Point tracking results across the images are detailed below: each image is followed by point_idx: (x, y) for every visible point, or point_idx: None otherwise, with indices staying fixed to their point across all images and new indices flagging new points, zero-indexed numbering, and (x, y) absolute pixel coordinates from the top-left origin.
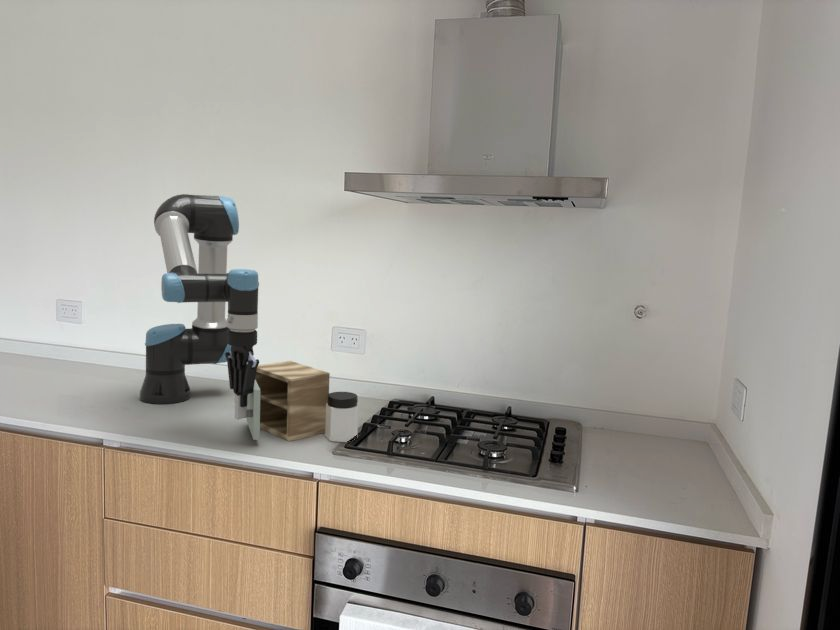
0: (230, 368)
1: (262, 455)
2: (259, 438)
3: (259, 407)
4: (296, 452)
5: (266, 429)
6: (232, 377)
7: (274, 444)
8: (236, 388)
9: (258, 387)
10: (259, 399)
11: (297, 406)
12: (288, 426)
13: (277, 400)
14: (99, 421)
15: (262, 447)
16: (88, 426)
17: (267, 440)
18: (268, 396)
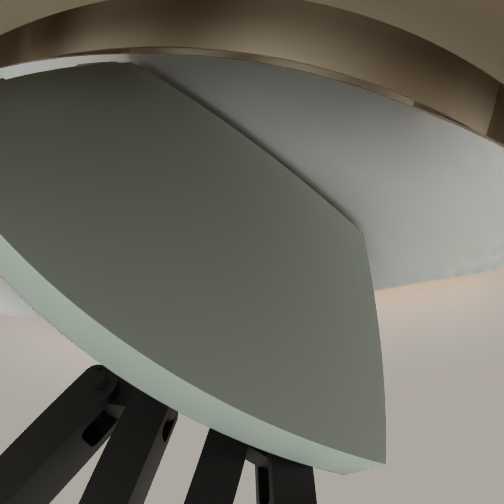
0: (49, 499)
1: (420, 282)
2: (362, 234)
3: (376, 347)
4: (500, 206)
5: (241, 59)
6: (83, 459)
7: (399, 176)
8: (169, 434)
9: (320, 448)
10: (380, 398)
11: None
12: (444, 119)
13: (278, 11)
14: (8, 286)
15: (380, 227)
16: (25, 309)
17: (344, 152)
18: (124, 1)
